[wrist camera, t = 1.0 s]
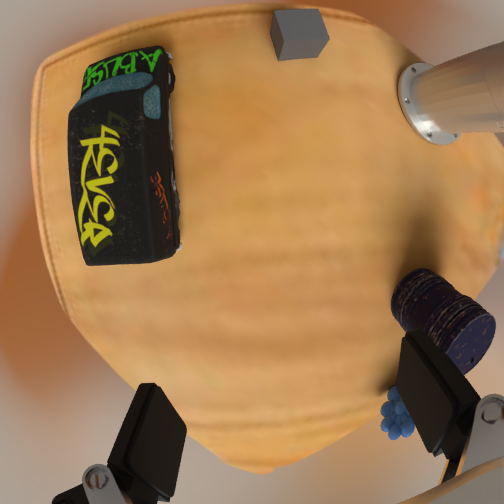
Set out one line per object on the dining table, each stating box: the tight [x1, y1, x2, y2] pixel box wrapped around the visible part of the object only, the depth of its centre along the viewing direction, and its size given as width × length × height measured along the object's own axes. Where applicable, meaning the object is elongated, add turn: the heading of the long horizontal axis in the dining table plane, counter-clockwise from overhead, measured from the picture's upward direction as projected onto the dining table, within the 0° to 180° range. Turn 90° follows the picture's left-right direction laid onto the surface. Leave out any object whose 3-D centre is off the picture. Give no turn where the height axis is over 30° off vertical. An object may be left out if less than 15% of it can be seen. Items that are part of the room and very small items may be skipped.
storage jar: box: [391, 268, 496, 375], centre depth 29 cm, size 10×10×15 cm
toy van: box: [68, 46, 182, 266], centre depth 25 cm, size 11×25×10 cm, turn 3°
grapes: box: [381, 386, 415, 440], centre depth 37 cm, size 12×7×12 cm, turn 148°
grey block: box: [270, 9, 330, 61], centre depth 23 cm, size 5×4×6 cm
